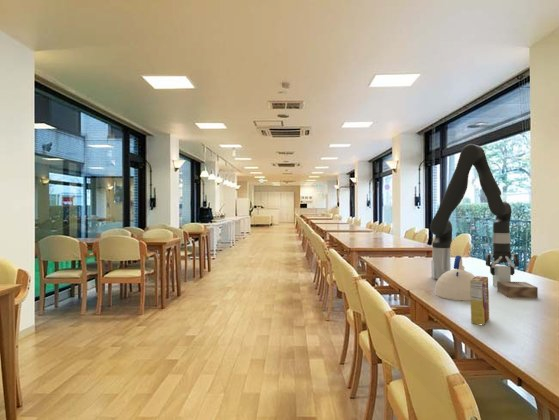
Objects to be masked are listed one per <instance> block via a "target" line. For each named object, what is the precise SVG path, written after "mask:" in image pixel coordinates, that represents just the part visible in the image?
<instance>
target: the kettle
mask: <svg viewBox="0 0 559 420" xmlns="http://www.w3.org/2000/svg"><path fill="white" fill-rule="evenodd" d="M474 277H476V275H474V274H472V273H471V272H469V271H467V270H465V266H464V265H463V257H462V256H461V255H456V256H455V257H454V263H453V269H451V270H450V271H447V272H445V273H444V274H442V275H441V276H440V277H439V279H436V280H437V281H436V283H435V289H434V294H435V295H436V296H437V297H439V298H442V299H447V300H454V301H461V300H463V301H464V302H465V301H466V302H467V301H469V302H471V295H470V280H471V279H473V278H474Z"/></svg>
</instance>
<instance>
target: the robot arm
mask: <svg viewBox="0 0 559 420" xmlns="http://www.w3.org/2000/svg"><path fill="white" fill-rule="evenodd" d="M455 166H456V167H455V169H454V172H453V173H452V176H451V179H450V181H449V183H448V185H447V188H446V189H445V193H444V195H443V196H442V197H443V198H442V200H441V203H440V205H439V207H438V209H437V211H436V212H435V214H434V217H433V218H432V220H431V222H430V224H429V230H430V233H432V235H435V237H434V240H433V241H432V242H431V243H432V244H431V245H432V247H431V249H432V259H431V261H430V262H431V278H432V279H434V280H438V279H439V277H440V276H441V275H442V274H444V273H445V272H447V271H450V270H452V269H451V246H452V241H453V226H452V222H451V221H450V218H451V216H452V214H453V212H455V210H456V209H457V207H458V206H459V205H460V204H461V202H462V200H463V199H464V197H465V194H466V192H467V190H468V185H469V176H470V172H471V170H472V167H474V169H475V171H476V173H477V176H478V179H479V185H480V187H481V190H482V192H483V193H484V196H485V198H486V201H487V206H488V208H489V211H490V212H491V214H492V215H494V216H495V221H493V223H492V229H493V230H492V253H490V254H489V253H486V254H485V266H487V267H489V273H490V274H491V275H492V276H493V275H495V268H494V266H495V265H498V263H499V264H502V263H504V264H506V263H507V264H508V266H509V267H510V275H511V276H514V275H515V268H516V267H519V265H520V264H519V263H520V261H519V255H518V254H517V253H512V252H511V233H510V229H511V228H510V222H511V217H512V207H511V204H510V203H509V202H506V201H503V199H502V191H501V189H500V187H499V185H498V183H497V181H496V179H495V177H494V175H493V173H492V170H491V167H490V166H489V163H488V159H487V156H486V153H485V150H484V148H483V147H482V146H480V145H476V144H473V143H469V144H467V145H465V146H464V147H462V149H461V152H460V154H459V158H458V160H457V163H456V165H455ZM492 258H493V260H492ZM511 258H512V259H513V261H512V260H511Z"/></svg>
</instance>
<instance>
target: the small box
mask: <svg viewBox="0 0 559 420" xmlns="http://www.w3.org/2000/svg"><path fill="white" fill-rule="evenodd" d="M494 268H495V275H492V286H494V287H495V288H497V281H505V282H512V281H511V280H512V279H511V276H512V275H510V266H509V265H505V264H496V265H495V266H494Z"/></svg>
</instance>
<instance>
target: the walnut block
mask: <svg viewBox="0 0 559 420" xmlns="http://www.w3.org/2000/svg"><path fill="white" fill-rule="evenodd" d="M496 291H497V293H500V294H501V295H503V296H505V298H517V299H519V298H520V299H538V297H539V295H538V294H539V292H538V291H539V288H538V287H537V286H535V285H533V284H531V283H529V282H526V281H511V282H505V281H497V287H496Z"/></svg>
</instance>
